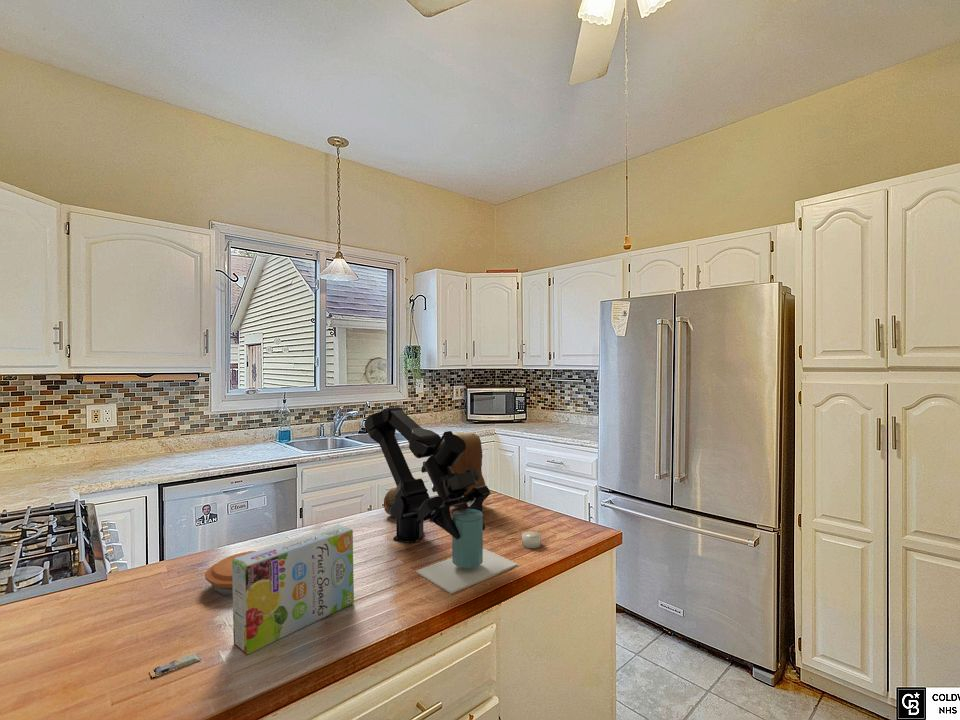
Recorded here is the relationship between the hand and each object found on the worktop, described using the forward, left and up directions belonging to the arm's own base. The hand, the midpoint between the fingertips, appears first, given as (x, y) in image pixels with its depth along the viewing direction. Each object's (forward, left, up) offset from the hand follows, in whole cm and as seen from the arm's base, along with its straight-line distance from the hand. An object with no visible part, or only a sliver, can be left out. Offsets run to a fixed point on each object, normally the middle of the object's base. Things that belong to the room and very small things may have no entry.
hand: (471, 534), depth 108 cm
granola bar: (-32, -47, -9) cm, 58 cm away
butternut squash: (-18, +41, -9) cm, 45 cm away
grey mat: (-1, +1, -8) cm, 9 cm away
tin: (-35, +31, -9) cm, 47 cm away
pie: (-44, -22, -9) cm, 50 cm away
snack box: (-23, -31, -9) cm, 39 cm away
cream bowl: (+9, +20, -8) cm, 23 cm away
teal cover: (-1, +1, -7) cm, 7 cm away
